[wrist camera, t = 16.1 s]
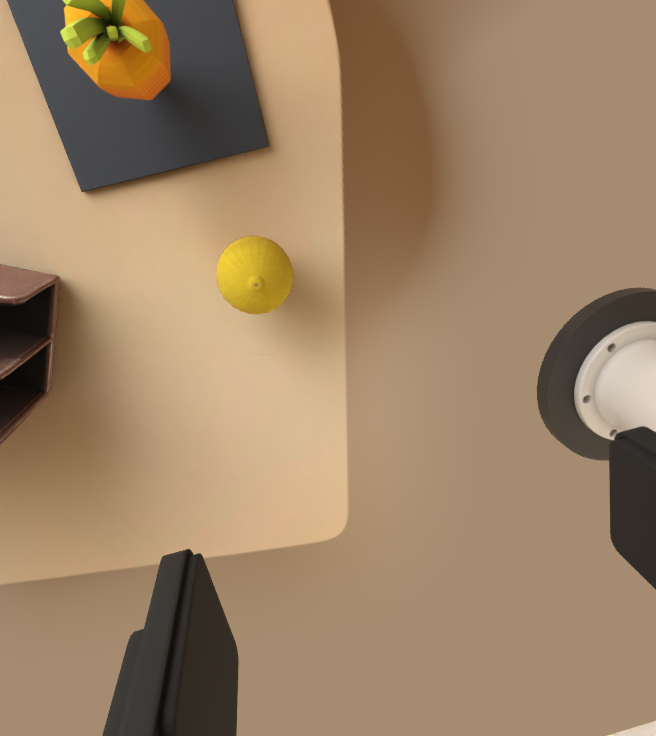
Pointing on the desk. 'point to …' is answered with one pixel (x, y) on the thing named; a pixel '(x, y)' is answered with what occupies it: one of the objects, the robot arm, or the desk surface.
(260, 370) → the desk surface
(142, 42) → the carrot
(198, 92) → the mat
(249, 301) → the lemon
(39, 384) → the letter holder
